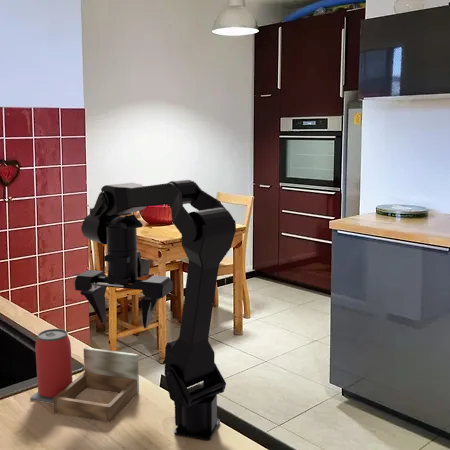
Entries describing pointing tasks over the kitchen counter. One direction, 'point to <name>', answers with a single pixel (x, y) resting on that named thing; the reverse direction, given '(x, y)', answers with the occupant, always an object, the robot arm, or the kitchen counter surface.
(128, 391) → the drawer
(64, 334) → the beer can
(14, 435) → the kitchen counter surface
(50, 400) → the plate
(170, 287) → the robot arm
